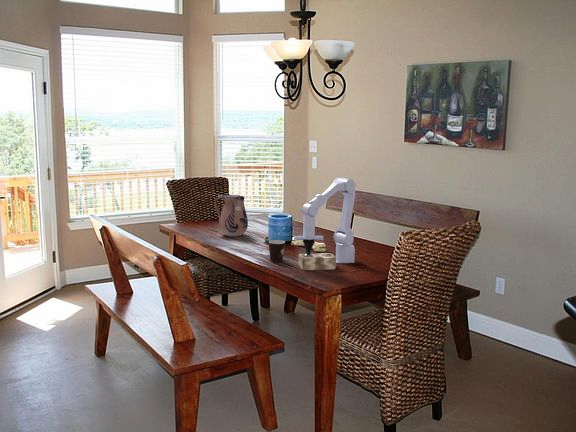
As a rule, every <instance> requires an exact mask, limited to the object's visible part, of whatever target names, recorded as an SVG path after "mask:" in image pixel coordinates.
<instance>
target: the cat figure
mask: <svg viewBox="0 0 576 432" xmlns="http://www.w3.org/2000/svg"><path fill="white" fill-rule="evenodd" d="M294 236H299V232H295V233H294V235H293V237H294ZM314 241H315V243H314V245H313V247H312V250H313V251H314V252H320V253H326V251H327V249H326V248H327V245H326V243H324V242H318V240H314ZM290 245H291V246H299V247H300V246H303V247H305V246H304V243H303V240H297V241H295V240H291V243H290Z"/></svg>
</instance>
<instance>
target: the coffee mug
mask: <svg viewBox="0 0 576 432" xmlns="http://www.w3.org/2000/svg"><path fill="white" fill-rule="evenodd" d="M285 244H286V241H285V240H279V239H274V240H273V239H272V240H269V241H268V249H269V250H268V251H269V261H270V262H272V261H273V263H281V261H282V262H283V259H284V253H285V246H286V245H285Z"/></svg>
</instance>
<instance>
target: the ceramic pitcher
mask: <svg viewBox="0 0 576 432" xmlns="http://www.w3.org/2000/svg"><path fill="white" fill-rule="evenodd" d="M245 198H246V197H245V196H243V195H240V194H224V195H222V194H220V195H218V196H216V197H215V198H214V199H213V200H214V208H215V211H216V213H217V215H218V222H219V229H220V230H221V232H222V234H224V235H225V236H227V237H231V238H232V237H233V238H235V237H240V236H242V235H244V234H245V233H246V232H247V230H248V228H249V227H248V226H249V220H248V215H247V211H246V208H245V207H246V206H245ZM218 199H222V200H223V202H224V205H223V207H222V210H220V208H219V206H218Z"/></svg>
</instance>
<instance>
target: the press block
mask: <svg viewBox="0 0 576 432" xmlns="http://www.w3.org/2000/svg"><path fill="white" fill-rule="evenodd" d="M304 254H305V253H298V266H300V267H301V268H300V267H299V268H300V269H301V270H302V271H316V270H319V271H321V270H323V271H324V270H336V268H337V262H336V255H334V254H333V253H331V252H328V253H327V252H320V253H312V254H313V256H312V257H304ZM322 255H331V257H323V256H322Z"/></svg>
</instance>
